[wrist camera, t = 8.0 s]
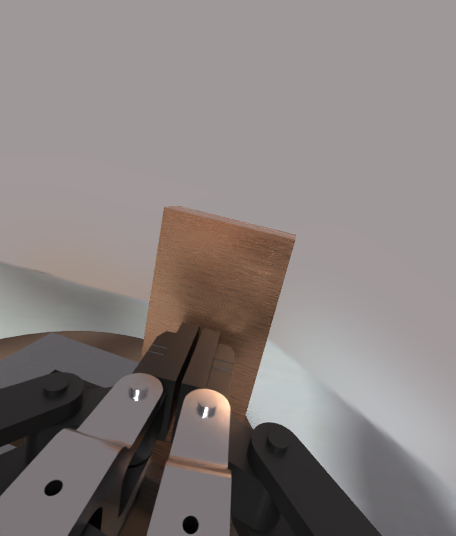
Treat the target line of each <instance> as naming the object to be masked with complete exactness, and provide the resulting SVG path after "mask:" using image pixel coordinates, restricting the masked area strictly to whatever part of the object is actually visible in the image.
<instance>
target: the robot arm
mask: <svg viewBox="0 0 456 536" xmlns="http://www.w3.org/2000/svg"><path fill="white" fill-rule="evenodd" d="M199 332H200V326H197V325H193V324H189V323H185V322H182V324H181V326H180V327H179V329H178V331H177V333H174V332H169V331H166V332H164V333H162V334H160V335H159V336H157V337H156V339H155V340H154V342H153V343H152V345H151V346H150V348H149V349H148V352H146V354H145V355H144V357H143V358H142V360H141V361H140V362H139V364H138V365H137V367H136V368H135V370H134V371H133V373H132V374H130V375H127V376H125V377H123V378H121V379H120V380H119V381H118V382H117V383H116V384H115V385H114V386H112V387H107V388H84V383H83V380H82V379H81V378H80V377H79V376H77V375H75V374H72V373H68V372H56V373H51V374H47V375H44V376H41V377H37V378H34V379H31V380H28V381H24V382H21V383H18V384H15V385H11V386H8V387H5V388H2V389H0V447H2V446H5V445H7V444H10V443H12V442H14V441H17V440H19V439H21V438H24V437H25V444H23V445H21V446H19V447H17V448H14V449H12V450H10V451H8V452H5V453H3V454H1V455H0V536H117V535H118V532H119V530H120V527H121V525H122V523H123V521H124V519H125V517H126V515H127V512H128V510H129V508H130V506H131V504H132V502H133V500H134V498H135V496H136V493H137V491H138V489H139V487H140V485H141V483H142V481H143V479H144V477H145V474H146V472H147V470H148V468H149V466H150V463H151V459H152V453H153V448H154V446H155V443H156V441H157V440H159V441H163V442H165V440H166V438H167V435H168V432H169V430H170V427H171V424H172V422H173V419H174V416H175V414H176V416H175V421H174V426H173V432H172V437H171V444H172V448H171V452H170V456H169V457H168V459H167V462H166V465H165V469H164V472H163V476H162V480H161V484H160V487H159V491H158V495H157V499H156V502H155V506H154V510H153V514H152V517H151V521H150V525H149V529H148V532H147V536H230V514H231V519H232V523H233V525H234V528H235V530H236V532H237V534H238V536H382V535H381V534H380V533H379V532H378V531H377V530H376V528H375V527H374V526H373V525H372V524H371V523H370V521H369V520H368V519H367V518H366V517H365V516H364V514H363V513H362V512H361V511H360V510H359V509H358V508H357V506H356V505H355V504H354V503H353V502H352V501H351V499H350V498H349V497H348V496H347V495H346V494H345V492H344V491H343V490H342V489H341V488H340V487H339V485H338V484H337V483H336V482H335V481H334V480H333V478H332V477H331V476H330V475H329V474H328V473H327V472H326V470H325V469H324V468H323V467H322V466H321V465H320V463H319V462H318V461H317V460H316V459H315V458H314V456H313V455H312V454H311V453H310V452H309V451H308V449H307V448H306V447H305V446H304V445H303V444H302V442H301V441H300V440H299V439H298V438H297V437H296V436H295V435H294V433H293V432H291V431H290V430H289V429H287V428H286V427H284V426H282V425H279V424H276V423H270V422H268V423H262V424H260V425H258V426H257V427H255V429H252V428H250V427H249V426H247V425H245V424H243V423H242V422H240V421H239V420H238V419H237V418H236V417H235V416H234V415H233V414H232V412H231V411H230V405H229V402H228V398H229V391H230V385H231V378H232V371H233V365H234V359H235V353H234V351H233V349H232V347H231V346H228V345H224V344H219V340H220V335H221V331H218V330H214V329H210V328H206V327H204V328H203V331H202V333H201V336H200V338H199V341H198V337H199ZM197 342H198V343H197Z"/></svg>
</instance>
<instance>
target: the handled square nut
mask: <svg viewBox="0 0 456 536" xmlns="http://www.w3.org/2000/svg"><path fill="white" fill-rule="evenodd" d="M295 236H296V235H294V234H290V233H286V232H282V231H278V230H274V229H270V228H266V227H262V226H257V225H254V224H250V223H246V222H241V221H237V220H233V219H229V218H225V217H221V216H217V215H213V214H209V213H205V212H201V211H197V210H193V209H189V208H185V207H181V206H171V207H164V212H163V218H162V224H161V231H160V238H159V244H158V251H157V257H156V264H155V270H154V277H153V284H152V290H151V297H150V303H149V309H148V316H147V323H146V329H145V336H144V342H143V349H142V355H141V360H142V358H143V357H144V355H145V354H146V352H148V349H149V348H150V346H151V345H152V343H153V342H154V340H155V339H156V337H157V336H159V335H160V334H162V333H164V332H166V331H169V332H174V333H177V331H178V329H179V327H180V326H181V324H182V322H185V323H189V324H193V325H197V326H200V332H199V337H198V341H199V338H200V336H201V333H202V331H203V328H204V327H206V328H210V329H214V330H218V331H221V335H220V340H219V344H224V345H228V346H231V347H232V349H233V351H234V353H235V359H234V365H233V371H232V378H231V385H230V391H229V398H228V402H229V405H230V411H231V412H232V414H233V415H234V416H235V417H236V418H237V419H238V420H239V421H240V422H242V423H243V422H244V418H245V415H246V411H247V408H248V404H249V401H250V397H251V394H252V390H253V387H254V383H255V380H256V376H257V373H258V369H259V366H260V362H261V359H262V355H263V352H264V348H265V344H266V341H267V337H268V334H269V330H270V327H271V323H272V320H273V316H274V313H275V309H276V305H277V302H278V299H279V295H280V292H281V288H282V285H283V281H284V277H285V274H286V270H287V267H288V263H289V260H290V256H291V253H292V249H293V246H294V242H295ZM197 343H198V342H197ZM138 364H139V363H138V362H135V361H133V360H130V359H127V358H124V357H121V356H118V355H115V354H113V353H110V352H107V351H104V350H101V349H98V348H95V347H93V346H90V345H87V344H84V343H81V342H78V341H75V340H73V339H70V338H67V337H64V336H61V335H58V334H55V333H53V332H52V333H50V334H48V335H46V336H45V337H43V338H41V339H39V340H37V341H36V342H34V343H32V344H30V345H28V346H26V347H25V348H23V349H21V350H19V351H17V352H15V353H14V354H12V355H10V356H8V357H6V358H4V359H3V360H1V361H0V389H2V388H5V387H8V386H11V385H15V384H18V383H21V382H24V381H28V380H31V379H34V378H37V377H41V376H44V375H47V374H51V373H56V372H68V373H72V374H75V375H77V376H79V377H80V378H81V379H82V380H83V383H84V388H107V387H112V386H114V385H115V384H116V383H117V382H118V381H119V380H120V379H121V378H123V377H125V376H127V375H130V374H132V373H133V371H134V370H135V368H136V367H137V365H138ZM175 416H176V414H175ZM175 416H174V419H173V422H172V424H171V427H170V430H169V432H168V435H167V438H166V440H165V442H163V441H159V440H157V441H156V443H155V446H154V448H153V453H152V459H151V463H150V466H149V468H148V470H147V472H146V474H145V477H144V479H143V481H142V483H141V485H140V487H139V489H138V491H137V493H136V496H135V498H134V500H133V502H132V504H131V506H130V508H129V510H128V512H127V515H126V517H125V519H124V521H123V523H122V525H121V527H120V530H119V532H118V535H117V536H120V534H121V533H122V531H123V529H124V527H125V525H126V523H127V521H128V519H129V517H130V516H131V514H132V512H133V510H134V508H135V506H136V504H137V502H138V505H137V508H140V509H142V510H144V511H146V512H149V513H151V514H153V510H154V506H155V502H156V499H157V495H158V491H159V487H160V484H161V480H162V476H163V472H164V469H165V465H166V462H167V459H168V457H169V456H170V452H171V448H172V444H171V437H172V432H173V426H174V421H175ZM14 448H17V447H15V446H12V445H10V444H7V445H5V446H2V447H0V455H1V454H3V453H5V452H8V451H10V450H12V449H14ZM230 536H238V534H237V532H236V530H235V528H234V525H233V523H232V519H231V514H230Z"/></svg>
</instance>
